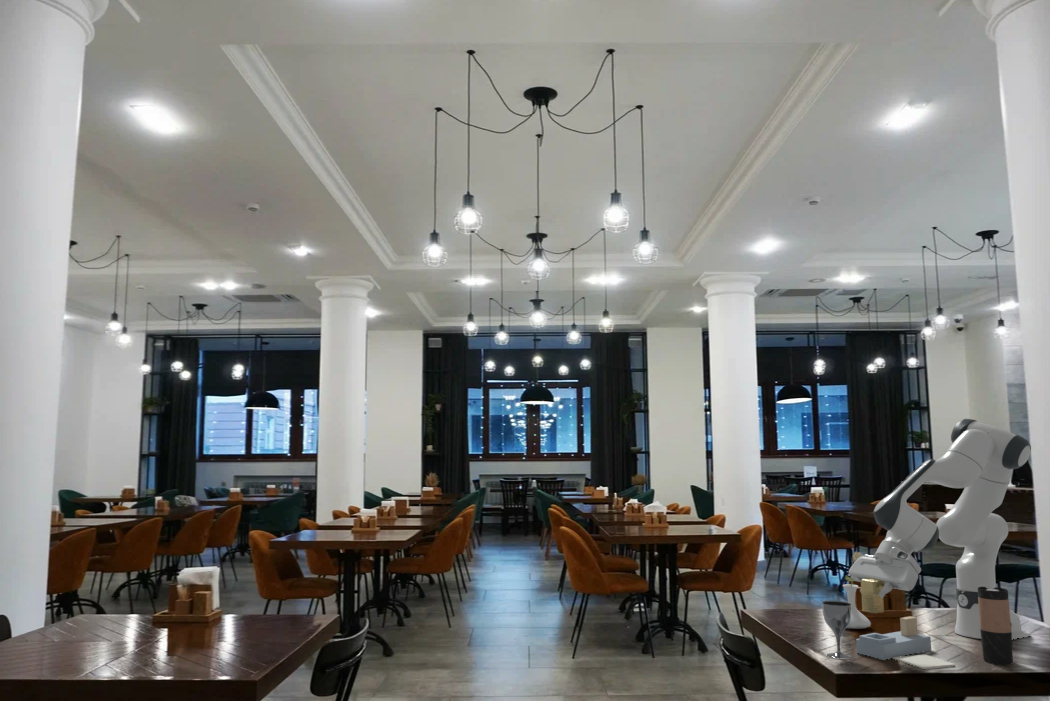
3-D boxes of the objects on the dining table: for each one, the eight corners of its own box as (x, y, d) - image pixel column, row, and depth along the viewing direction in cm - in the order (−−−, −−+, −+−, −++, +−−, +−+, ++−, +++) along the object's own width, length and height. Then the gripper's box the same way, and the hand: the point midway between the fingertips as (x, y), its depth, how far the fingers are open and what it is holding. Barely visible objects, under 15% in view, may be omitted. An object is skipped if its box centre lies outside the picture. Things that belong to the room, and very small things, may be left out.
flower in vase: (848, 632, 256) (844, 554, 259) (827, 624, 267) (823, 550, 270) (883, 630, 259) (878, 553, 263) (860, 622, 270) (856, 549, 274)
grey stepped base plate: (903, 644, 240) (902, 613, 242) (931, 650, 233) (929, 619, 234) (856, 653, 230) (855, 621, 231) (883, 660, 222) (881, 627, 223)
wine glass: (820, 652, 230) (817, 600, 232) (847, 652, 230) (844, 600, 232) (830, 659, 222) (827, 605, 224) (858, 660, 222) (855, 605, 224)
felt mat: (924, 656, 226) (924, 654, 226) (955, 666, 215) (955, 664, 215) (893, 659, 223) (893, 657, 223) (923, 669, 212) (922, 667, 212)
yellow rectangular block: (872, 609, 233) (870, 578, 234) (883, 611, 229) (882, 580, 230) (862, 610, 231) (860, 579, 232) (873, 613, 227) (872, 581, 228)
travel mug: (1001, 666, 215) (996, 591, 218) (976, 659, 222) (970, 587, 225) (1020, 663, 218) (1014, 589, 221) (994, 657, 225) (989, 585, 228)
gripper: (856, 547, 244) (836, 582, 239) (916, 556, 226) (896, 593, 221) (866, 560, 246) (846, 595, 240) (926, 570, 228) (907, 608, 222)
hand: (870, 594), depth 230 cm, fingers closed on yellow rectangular block, 4 cm apart
